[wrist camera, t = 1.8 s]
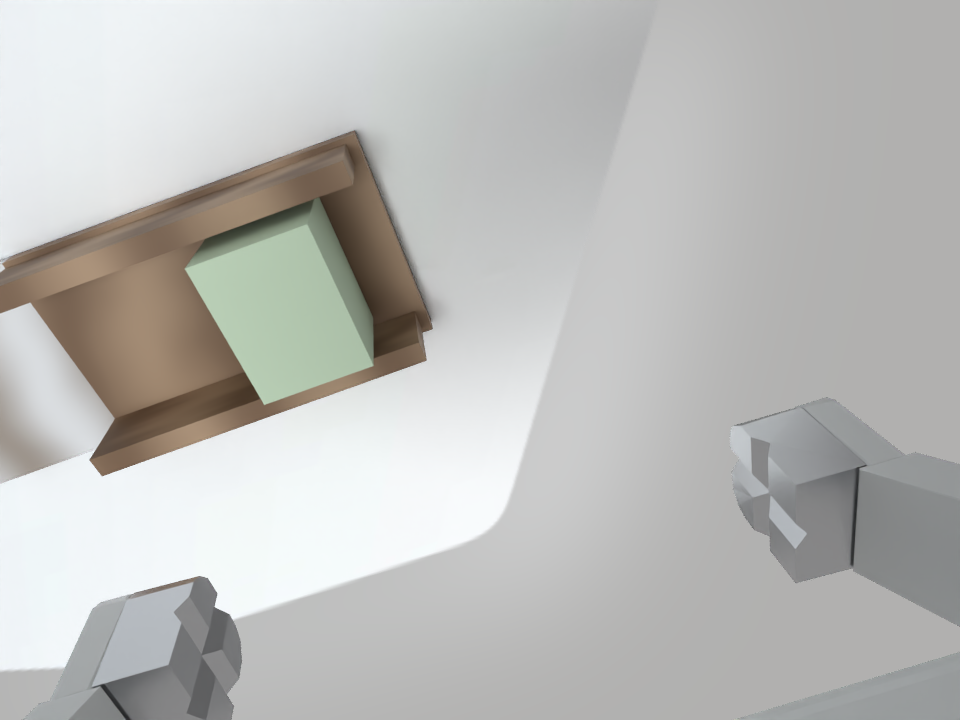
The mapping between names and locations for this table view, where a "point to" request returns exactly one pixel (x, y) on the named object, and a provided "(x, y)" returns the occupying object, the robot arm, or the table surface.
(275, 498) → the table surface
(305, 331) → the sage block
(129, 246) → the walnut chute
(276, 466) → the table surface
